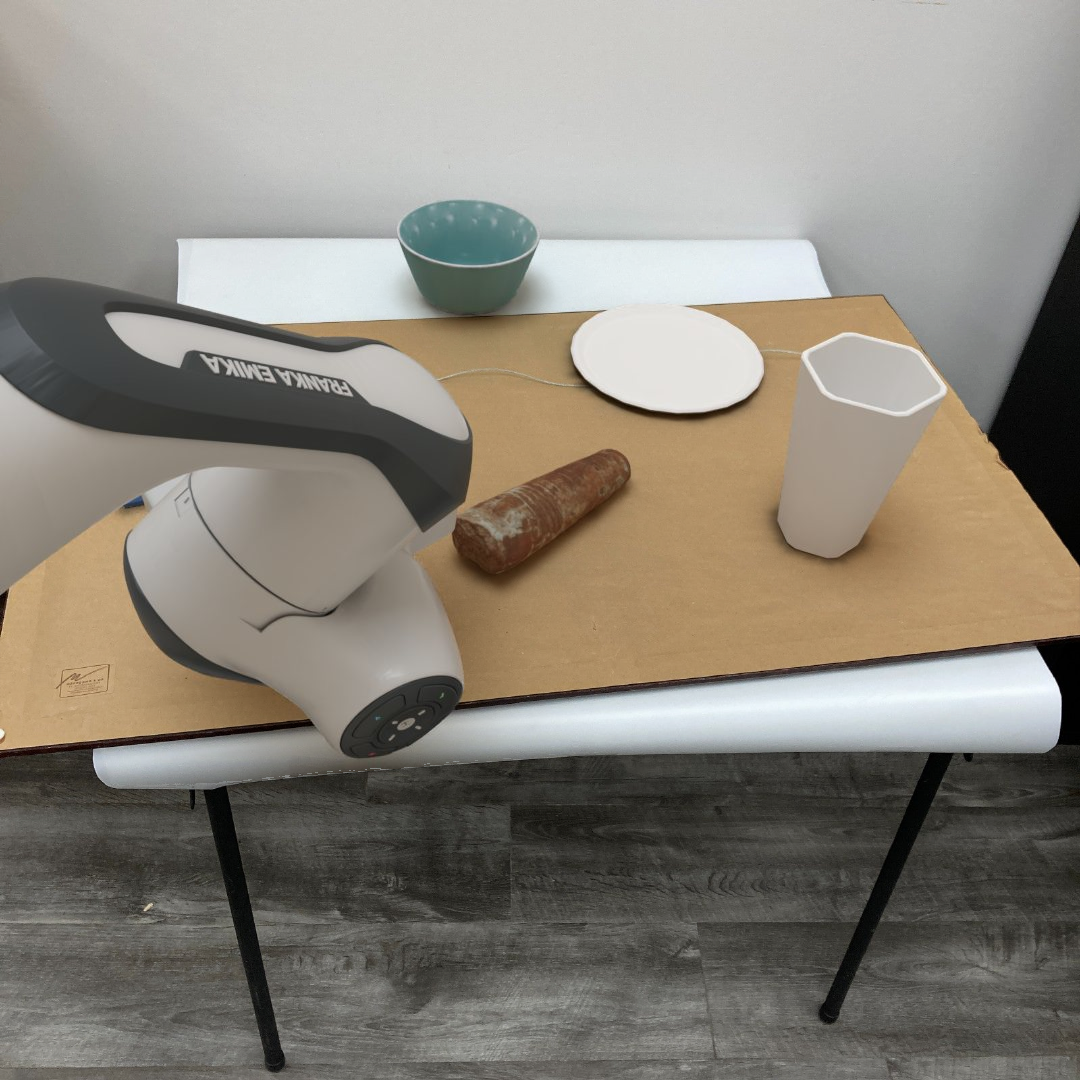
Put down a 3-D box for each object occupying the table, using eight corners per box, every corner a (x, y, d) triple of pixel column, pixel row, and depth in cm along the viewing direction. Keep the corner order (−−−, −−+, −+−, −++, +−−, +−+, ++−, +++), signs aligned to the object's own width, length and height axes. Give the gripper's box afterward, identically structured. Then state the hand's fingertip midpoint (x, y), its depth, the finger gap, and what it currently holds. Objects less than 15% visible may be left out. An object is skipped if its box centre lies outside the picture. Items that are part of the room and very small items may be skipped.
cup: (888, 513, 90) (953, 356, 78) (872, 586, 83) (941, 426, 71) (769, 478, 92) (814, 321, 81) (744, 547, 86) (789, 386, 74)
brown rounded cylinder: (443, 555, 83) (442, 506, 79) (600, 464, 93) (606, 416, 89) (492, 597, 80) (493, 548, 76) (649, 498, 90) (657, 450, 86)
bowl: (550, 275, 118) (554, 210, 112) (516, 344, 107) (518, 275, 101) (426, 253, 120) (424, 188, 114) (380, 318, 109) (375, 250, 103)
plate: (751, 438, 97) (754, 428, 96) (548, 397, 100) (549, 387, 99) (771, 330, 111) (773, 321, 111) (593, 297, 115) (594, 288, 114)
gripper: (162, 605, 59) (131, 467, 68) (477, 524, 66) (412, 408, 75) (138, 529, 55) (109, 393, 64) (478, 451, 61) (409, 337, 70)
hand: (275, 401), depth 69 cm, fingers closed on pill bottle, 5 cm apart
